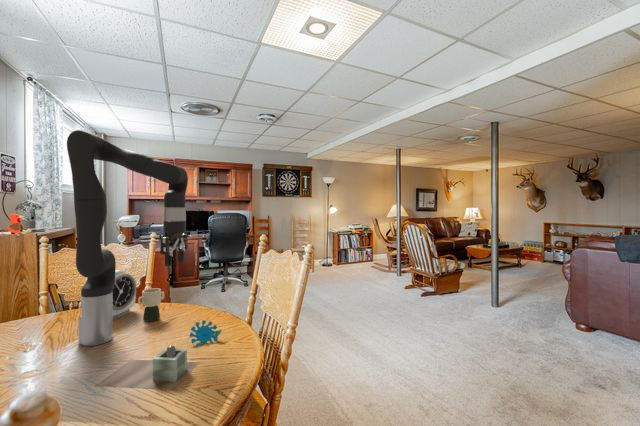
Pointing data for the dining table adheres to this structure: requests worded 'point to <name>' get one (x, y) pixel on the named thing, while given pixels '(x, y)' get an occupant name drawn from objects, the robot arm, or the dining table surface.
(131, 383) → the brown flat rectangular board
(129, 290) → the alarm clock
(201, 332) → the gear
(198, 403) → the dining table surface
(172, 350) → the metal post
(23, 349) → the dining table surface
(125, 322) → the dining table surface
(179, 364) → the pale green open box
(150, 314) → the character mug
